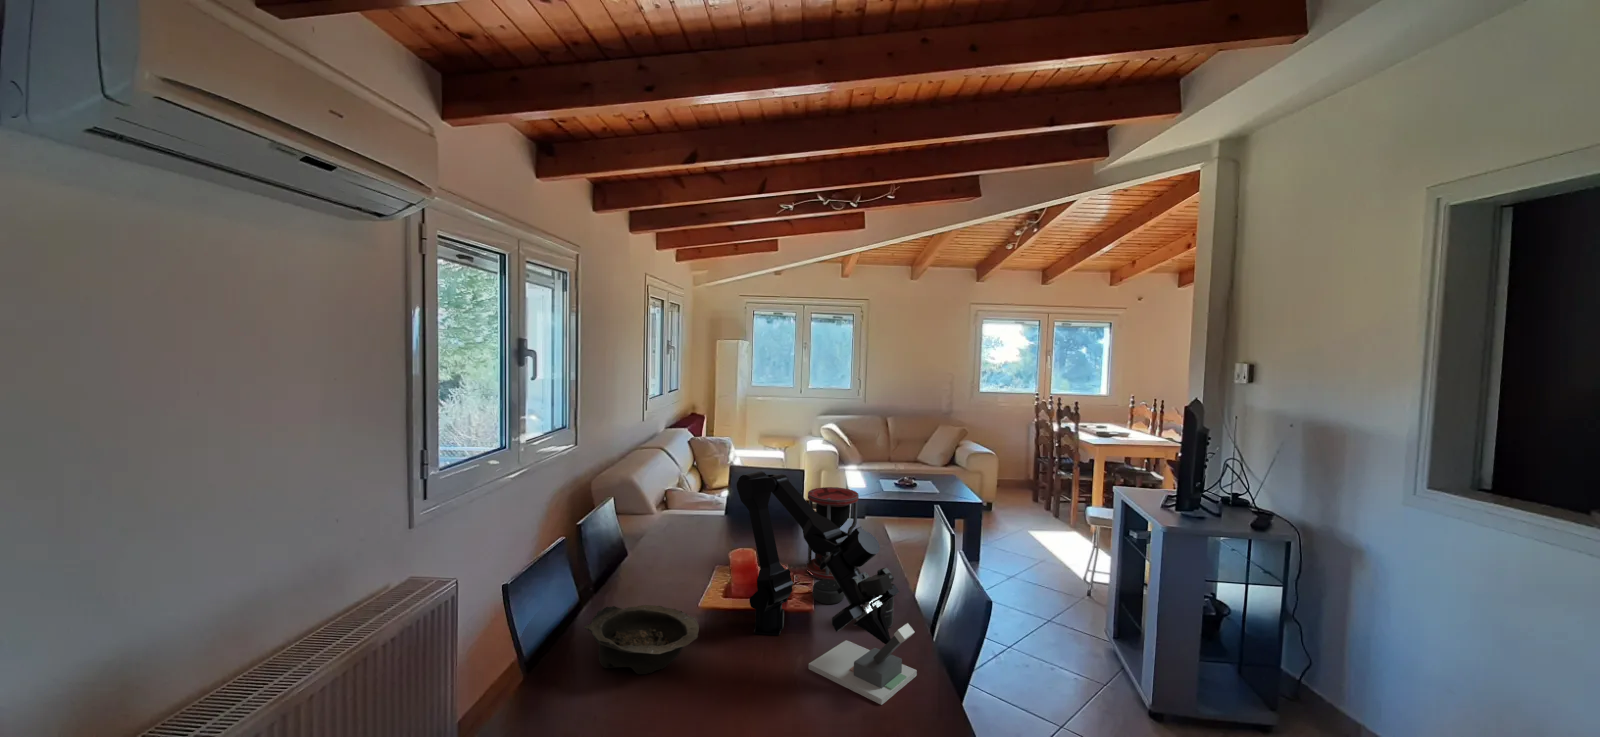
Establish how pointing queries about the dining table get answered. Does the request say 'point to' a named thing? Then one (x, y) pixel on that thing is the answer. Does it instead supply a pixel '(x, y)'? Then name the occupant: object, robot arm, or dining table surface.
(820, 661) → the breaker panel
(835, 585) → the smart speaker
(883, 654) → the breaker lever
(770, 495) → the robot arm
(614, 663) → the stone bowl
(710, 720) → the dining table surface
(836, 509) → the hourglass
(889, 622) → the supplement bottle
